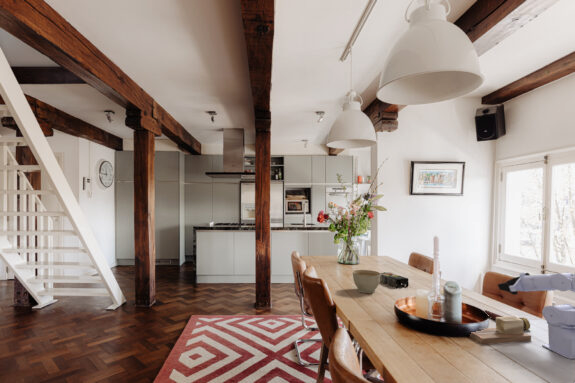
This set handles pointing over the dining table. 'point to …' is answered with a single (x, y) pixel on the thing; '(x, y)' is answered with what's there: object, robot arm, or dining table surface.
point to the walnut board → (498, 336)
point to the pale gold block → (509, 325)
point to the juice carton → (393, 279)
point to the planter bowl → (366, 280)
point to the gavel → (493, 316)
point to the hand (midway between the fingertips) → (505, 284)
